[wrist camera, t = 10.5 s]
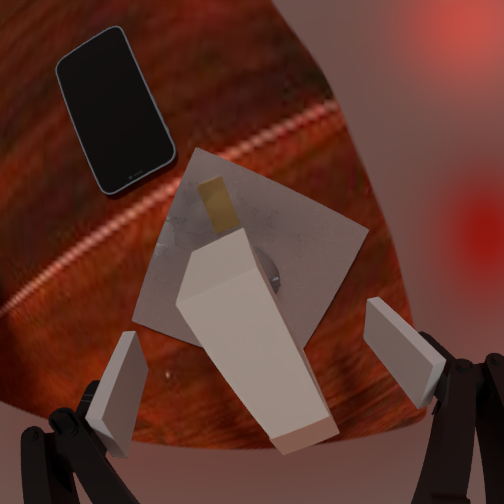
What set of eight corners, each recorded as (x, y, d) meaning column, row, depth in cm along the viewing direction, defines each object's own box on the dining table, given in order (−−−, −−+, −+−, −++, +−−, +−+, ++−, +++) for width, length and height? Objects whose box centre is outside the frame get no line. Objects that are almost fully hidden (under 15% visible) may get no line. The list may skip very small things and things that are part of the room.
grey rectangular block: (192, 245, 18) (172, 305, 10) (243, 221, 18) (260, 266, 10) (264, 371, 21) (283, 455, 13) (305, 353, 21) (339, 433, 13)
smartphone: (119, 21, 18) (180, 156, 22) (122, 25, 19) (182, 157, 23) (53, 64, 18) (104, 199, 22) (57, 67, 19) (108, 198, 23)
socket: (284, 364, 29) (298, 406, 23) (135, 313, 26) (115, 351, 20) (361, 226, 26) (399, 245, 20) (197, 148, 22) (188, 141, 16)
